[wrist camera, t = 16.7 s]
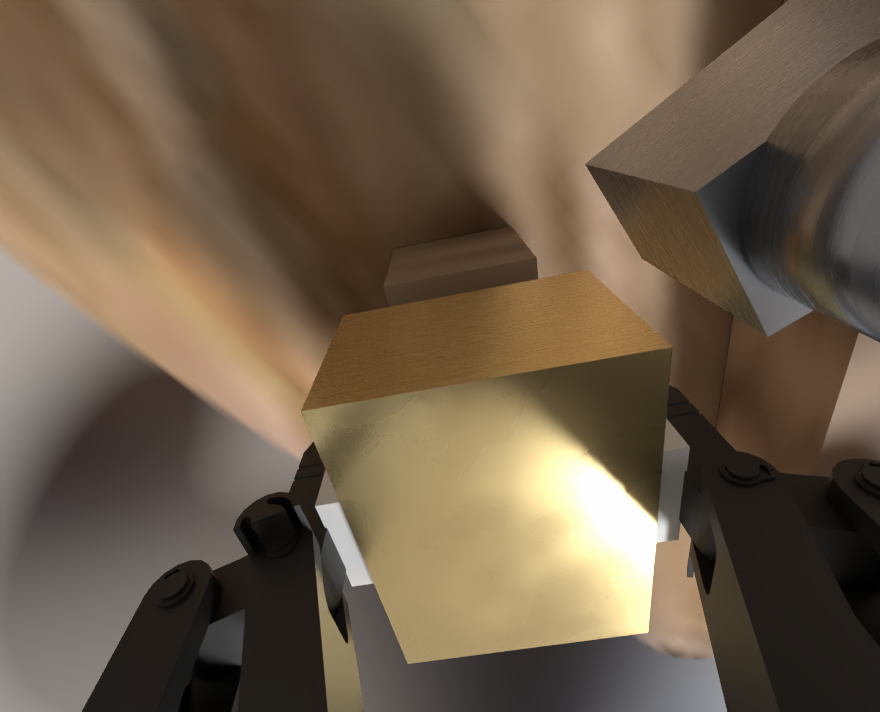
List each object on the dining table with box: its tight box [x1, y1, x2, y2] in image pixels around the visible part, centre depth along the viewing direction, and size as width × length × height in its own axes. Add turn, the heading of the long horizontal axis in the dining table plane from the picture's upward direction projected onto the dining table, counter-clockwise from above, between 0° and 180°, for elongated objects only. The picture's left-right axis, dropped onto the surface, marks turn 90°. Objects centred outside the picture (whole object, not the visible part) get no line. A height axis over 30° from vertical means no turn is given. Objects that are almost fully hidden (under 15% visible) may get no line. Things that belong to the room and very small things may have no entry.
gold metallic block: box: [301, 270, 672, 664], centre depth 10 cm, size 8×6×4 cm
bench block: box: [383, 226, 538, 307], centre depth 15 cm, size 8×4×4 cm, turn 11°
